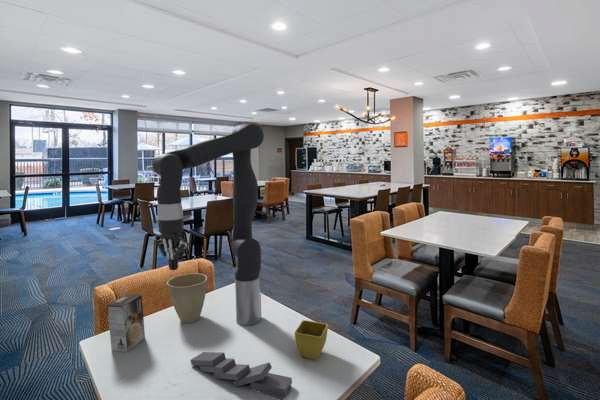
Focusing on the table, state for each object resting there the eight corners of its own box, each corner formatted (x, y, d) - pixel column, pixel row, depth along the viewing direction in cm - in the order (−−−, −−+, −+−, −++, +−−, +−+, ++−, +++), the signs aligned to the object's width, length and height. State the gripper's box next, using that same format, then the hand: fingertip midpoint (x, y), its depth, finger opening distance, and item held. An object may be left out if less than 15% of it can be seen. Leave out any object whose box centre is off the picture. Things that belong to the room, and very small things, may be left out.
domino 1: (203, 352, 106) (224, 352, 101) (204, 357, 106) (225, 357, 100) (190, 359, 102) (211, 360, 96) (191, 365, 102) (212, 366, 96)
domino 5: (258, 370, 95) (291, 377, 92) (258, 375, 95) (291, 383, 92) (250, 381, 91) (285, 389, 87) (251, 387, 91) (285, 395, 88)
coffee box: (129, 336, 120) (126, 293, 118) (145, 337, 118) (142, 294, 116) (110, 350, 111) (106, 304, 109) (127, 352, 109) (123, 305, 107)
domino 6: (261, 375, 96) (291, 386, 91) (261, 380, 96) (291, 391, 91) (250, 386, 91) (282, 397, 87) (251, 391, 91) (282, 403, 87)
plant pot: (193, 306, 143) (191, 270, 141) (216, 316, 134) (215, 277, 132) (161, 320, 131) (159, 281, 129) (184, 331, 122) (182, 290, 120)
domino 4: (243, 370, 97) (269, 362, 93) (245, 375, 97) (272, 367, 93) (233, 381, 92) (260, 373, 88) (235, 386, 92) (263, 378, 88)
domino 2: (212, 357, 103) (234, 358, 98) (213, 362, 103) (235, 364, 98) (199, 366, 99) (221, 367, 94) (200, 371, 99) (222, 373, 94)
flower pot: (328, 349, 110) (328, 323, 109) (321, 365, 102) (321, 337, 101) (303, 344, 113) (303, 319, 112) (294, 359, 105) (294, 332, 103)
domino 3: (226, 363, 100) (248, 364, 94) (228, 369, 100) (250, 370, 94) (213, 372, 96) (235, 374, 90) (214, 378, 96) (237, 380, 90)
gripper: (194, 216, 107) (197, 269, 109) (165, 214, 113) (168, 263, 115) (176, 220, 100) (179, 276, 102) (146, 217, 106) (149, 270, 108)
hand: (173, 269), depth 109 cm, fingers closed
